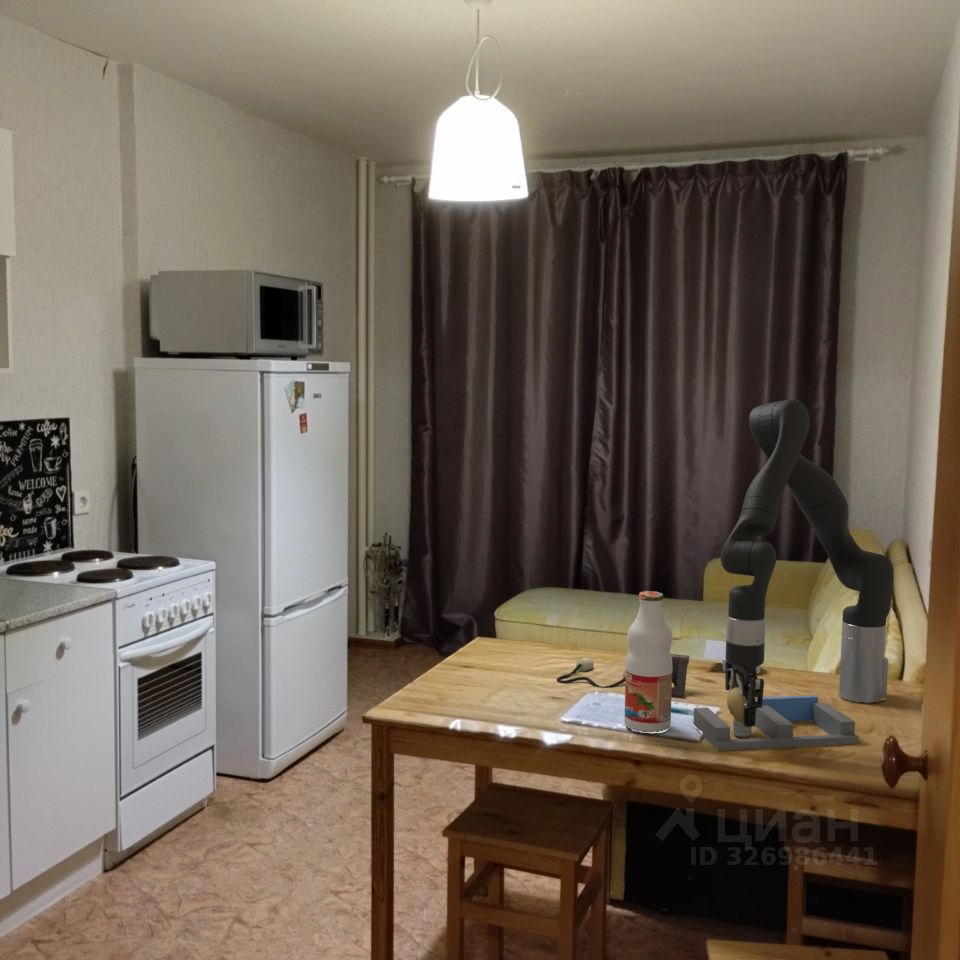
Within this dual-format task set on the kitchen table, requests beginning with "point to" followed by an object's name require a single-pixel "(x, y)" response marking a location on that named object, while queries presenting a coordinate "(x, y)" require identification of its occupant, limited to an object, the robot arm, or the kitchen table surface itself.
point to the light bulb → (738, 713)
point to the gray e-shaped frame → (781, 725)
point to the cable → (586, 665)
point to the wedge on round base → (718, 652)
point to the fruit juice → (649, 668)
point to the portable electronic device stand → (679, 674)
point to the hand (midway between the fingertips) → (742, 719)
